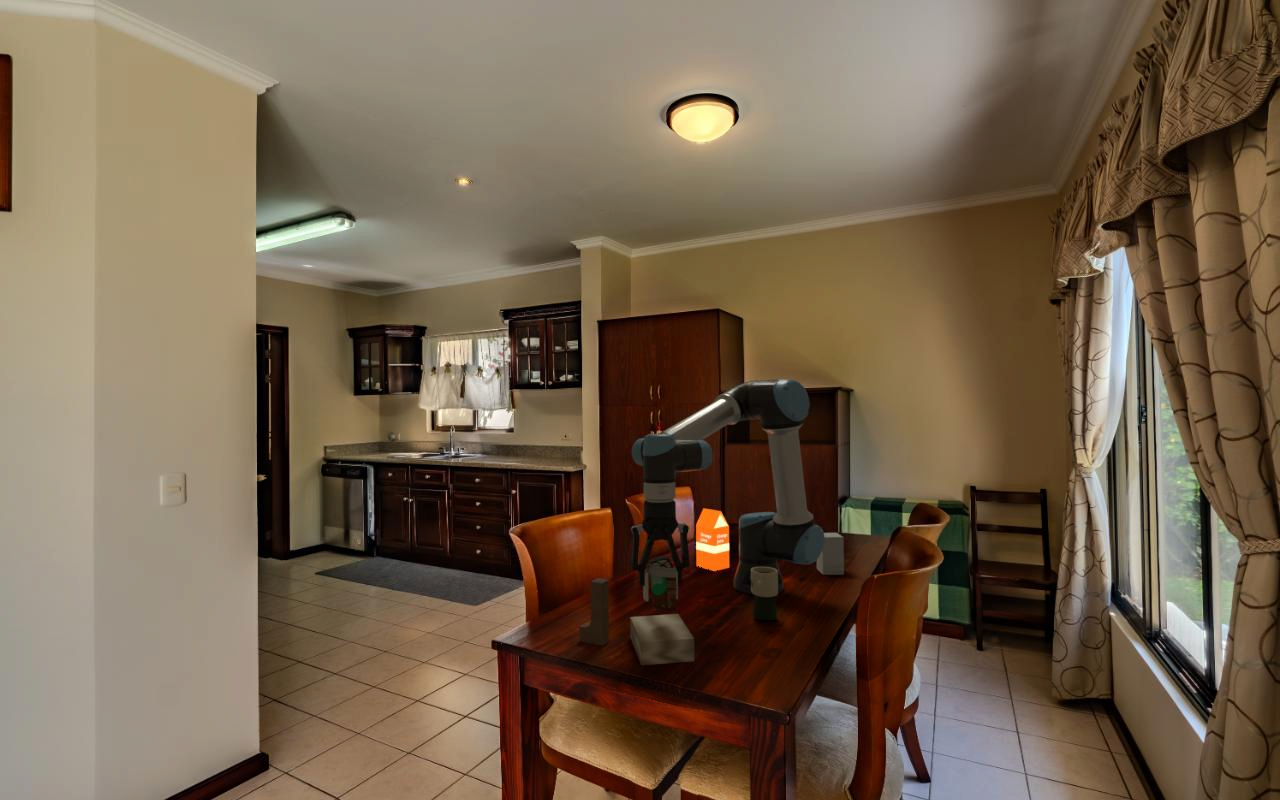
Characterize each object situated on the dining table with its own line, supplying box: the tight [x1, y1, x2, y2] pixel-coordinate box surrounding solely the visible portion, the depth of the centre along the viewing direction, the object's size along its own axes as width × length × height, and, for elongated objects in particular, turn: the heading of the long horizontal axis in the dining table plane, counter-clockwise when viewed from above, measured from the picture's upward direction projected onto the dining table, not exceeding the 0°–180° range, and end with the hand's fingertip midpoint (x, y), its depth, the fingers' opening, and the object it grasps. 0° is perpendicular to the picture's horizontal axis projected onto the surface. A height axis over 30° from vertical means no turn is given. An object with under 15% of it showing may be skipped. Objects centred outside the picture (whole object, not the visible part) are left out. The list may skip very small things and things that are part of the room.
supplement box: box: [816, 532, 845, 576], centre depth 203 cm, size 7×7×13 cm
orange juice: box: [695, 508, 730, 572], centre depth 211 cm, size 8×9×20 cm
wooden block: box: [578, 577, 610, 647], centre depth 145 cm, size 7×3×15 cm, turn 64°
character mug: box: [751, 567, 779, 622], centre depth 160 cm, size 11×7×13 cm, turn 151°
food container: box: [646, 554, 677, 612], centre depth 141 cm, size 12×6×10 cm, turn 5°
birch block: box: [629, 613, 695, 666], centre depth 141 cm, size 12×16×5 cm
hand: (660, 598), depth 141 cm, fingers closed on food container, 6 cm apart
